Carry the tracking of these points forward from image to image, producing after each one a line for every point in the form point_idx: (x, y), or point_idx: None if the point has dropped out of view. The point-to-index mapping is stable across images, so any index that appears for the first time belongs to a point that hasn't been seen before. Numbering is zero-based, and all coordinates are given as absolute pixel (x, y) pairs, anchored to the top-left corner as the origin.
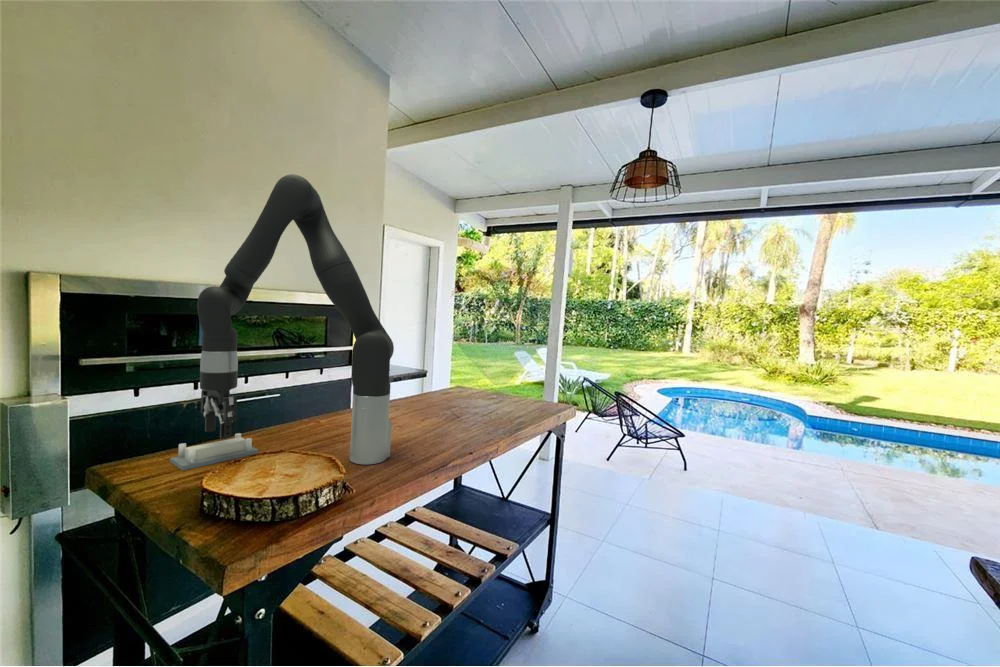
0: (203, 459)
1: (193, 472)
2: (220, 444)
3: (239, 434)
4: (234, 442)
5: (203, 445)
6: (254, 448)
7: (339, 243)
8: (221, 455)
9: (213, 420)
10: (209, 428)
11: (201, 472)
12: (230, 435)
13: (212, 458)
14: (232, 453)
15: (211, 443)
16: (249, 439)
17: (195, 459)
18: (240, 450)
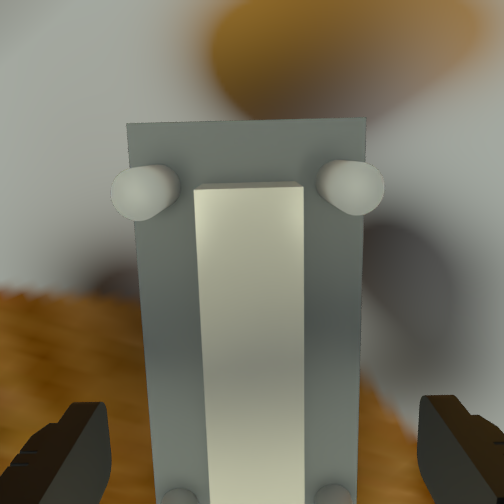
0: (316, 441)
1: (399, 488)
2: (296, 379)
3: (161, 192)
4: (301, 280)
5: (239, 466)
6: (321, 127)
7: None
8: (316, 346)
9: (63, 496)
10: (98, 469)
11: None
12: (482, 418)
13: (336, 402)
14: (323, 282)
15: (225, 414)
16: (379, 190)
17: (347, 501)
18: None
